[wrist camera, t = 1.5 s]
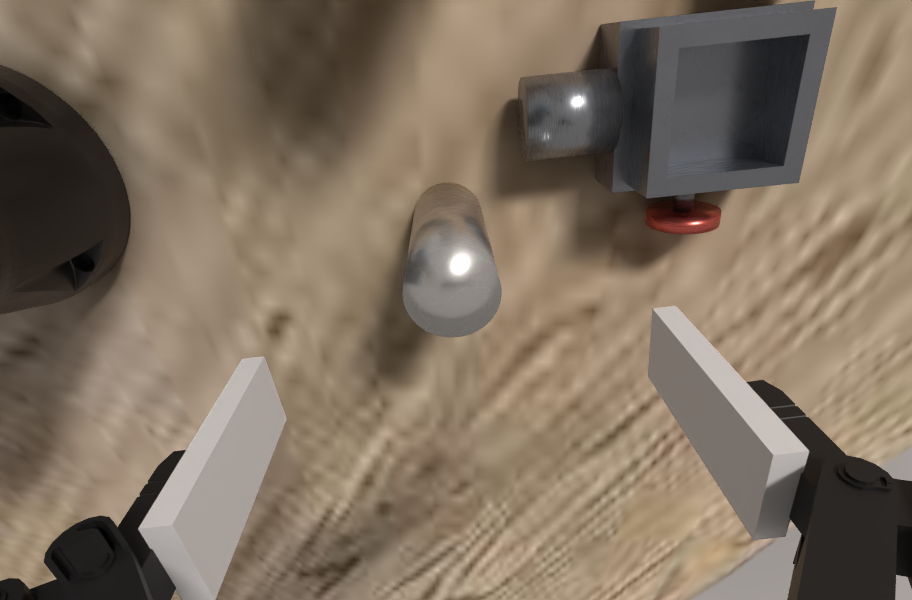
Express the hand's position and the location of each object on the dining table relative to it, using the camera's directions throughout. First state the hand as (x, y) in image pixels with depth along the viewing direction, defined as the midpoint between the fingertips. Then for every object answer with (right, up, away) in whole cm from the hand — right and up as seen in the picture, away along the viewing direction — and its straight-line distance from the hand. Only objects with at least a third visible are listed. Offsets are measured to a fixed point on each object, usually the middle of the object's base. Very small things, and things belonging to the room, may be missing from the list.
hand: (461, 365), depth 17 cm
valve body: (+11, +13, +14) cm, 23 cm away
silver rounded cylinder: (-1, +8, +17) cm, 19 cm away
